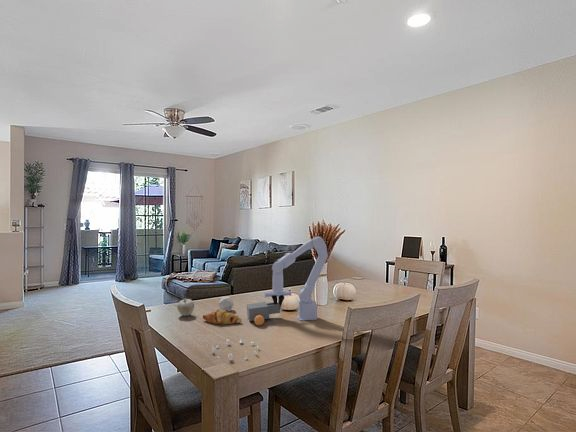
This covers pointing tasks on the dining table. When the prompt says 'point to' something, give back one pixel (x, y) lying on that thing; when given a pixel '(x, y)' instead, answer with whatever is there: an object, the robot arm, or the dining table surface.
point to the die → (226, 303)
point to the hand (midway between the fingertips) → (277, 309)
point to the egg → (259, 320)
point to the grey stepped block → (262, 310)
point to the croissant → (221, 317)
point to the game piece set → (231, 354)
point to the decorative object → (185, 307)
